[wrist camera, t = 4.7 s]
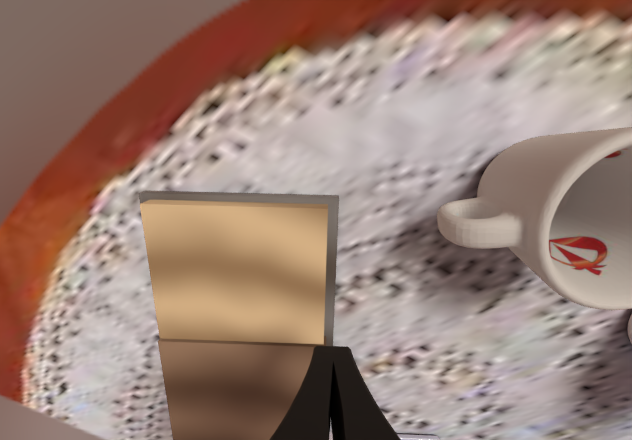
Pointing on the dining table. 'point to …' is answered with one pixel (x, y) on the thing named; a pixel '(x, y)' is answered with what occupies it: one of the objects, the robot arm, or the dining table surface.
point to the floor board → (240, 355)
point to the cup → (558, 213)
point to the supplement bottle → (630, 328)
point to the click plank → (237, 269)
